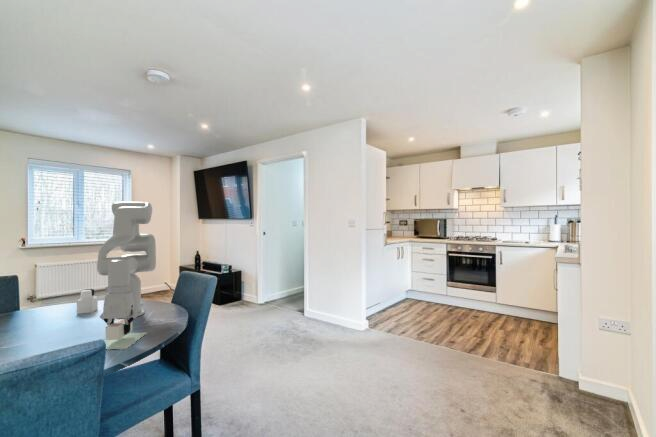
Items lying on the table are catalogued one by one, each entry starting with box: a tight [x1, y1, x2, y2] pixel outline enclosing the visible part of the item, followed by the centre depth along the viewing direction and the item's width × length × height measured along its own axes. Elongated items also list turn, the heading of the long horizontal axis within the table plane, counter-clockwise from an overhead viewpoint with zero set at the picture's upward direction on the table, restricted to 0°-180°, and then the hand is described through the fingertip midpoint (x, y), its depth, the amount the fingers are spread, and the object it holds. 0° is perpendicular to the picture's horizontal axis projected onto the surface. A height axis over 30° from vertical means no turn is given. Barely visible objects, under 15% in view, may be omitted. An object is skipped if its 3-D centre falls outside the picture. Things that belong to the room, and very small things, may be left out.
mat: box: [103, 332, 148, 351], centre depth 129 cm, size 16×14×1 cm
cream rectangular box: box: [105, 318, 134, 340], centre depth 128 cm, size 5×10×5 cm, turn 5°
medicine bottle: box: [76, 288, 99, 315], centre depth 171 cm, size 7×7×12 cm
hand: (119, 333), depth 128 cm, fingers closed on cream rectangular box, 5 cm apart
